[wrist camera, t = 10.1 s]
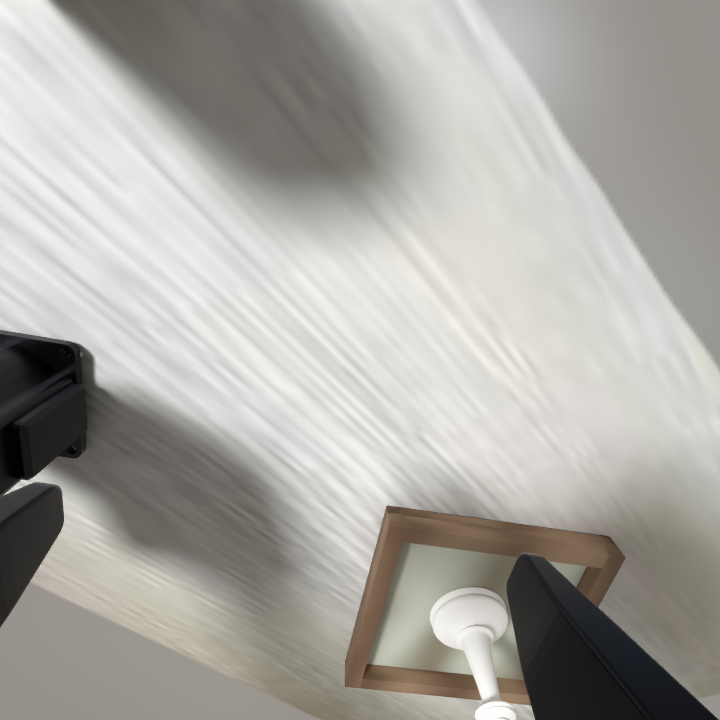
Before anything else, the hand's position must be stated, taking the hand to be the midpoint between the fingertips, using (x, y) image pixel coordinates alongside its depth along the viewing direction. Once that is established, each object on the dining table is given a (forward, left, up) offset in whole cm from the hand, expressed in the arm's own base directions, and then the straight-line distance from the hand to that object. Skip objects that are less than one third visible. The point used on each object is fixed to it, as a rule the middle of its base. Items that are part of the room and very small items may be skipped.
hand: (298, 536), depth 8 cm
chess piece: (+12, -17, -13) cm, 24 cm away
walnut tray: (+12, -17, -13) cm, 25 cm away
